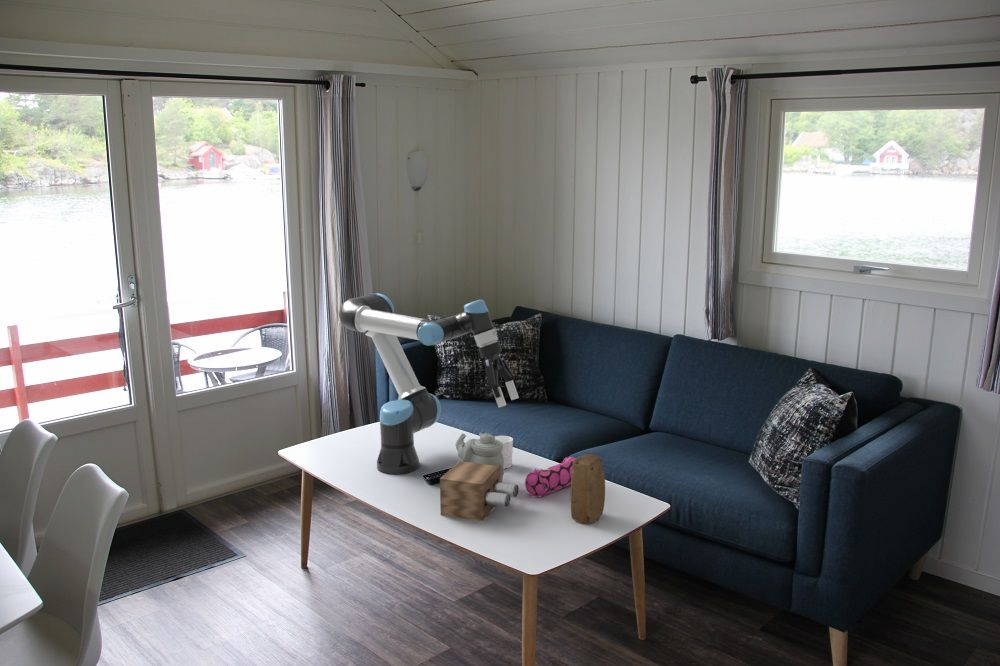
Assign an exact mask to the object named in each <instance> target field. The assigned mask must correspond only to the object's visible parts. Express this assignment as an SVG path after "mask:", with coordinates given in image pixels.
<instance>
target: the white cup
mask: <svg viewBox="0 0 1000 666" xmlns="http://www.w3.org/2000/svg"><path fill="white" fill-rule="evenodd" d="M494 437H495V439H496V440H499V441H501V442H502V445H503V448H502V452H501V453H502V455H503V458H504V465H503V470H504V469H505V468H506V469H509V468H511V466H512V465H513V463H512V461H513V451H514V448H513V445H514V438H513V437H511V436H508V435H496V436H494ZM506 469H505V470H506Z"/></svg>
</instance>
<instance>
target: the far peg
mask: <svg viewBox="0 0 1000 666" xmlns="http://www.w3.org/2000/svg"><path fill="white" fill-rule="evenodd" d="M493 492H495V493H503V494H510V498H511V497H512V498H517V497H518V495H519V485H518V484H513V483H506V482H505V483H504V482H503V483H498V482H495V483H494V484H493Z"/></svg>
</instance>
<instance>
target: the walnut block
mask: <svg viewBox="0 0 1000 666" xmlns="http://www.w3.org/2000/svg"><path fill="white" fill-rule="evenodd" d="M495 482H498V483H500V466H495V465H486V464H478V463H470V462H462V460H461V461H460V460H459V461H458V462H457V463H455V465H453V466H452V467H451V468H449V470H448V471H447V472H446V473H444V474H443V475H442V476H441V477H440V478H439V498H440V499H439V501H440V502H439V503H440V516H446V517H451V518H452V517H453V518H458V519H459V518H460V519H466V520H472V521H480V522H481V521H482V522H483V521H484V520H485V519H486V518H487V517H488V516H489V515H490V513H491V512H492V511H493V510H494V509H495V508H496V506H497V505H490V504H484V493H485V492H486V491H487V492H493V484H494V483H495Z"/></svg>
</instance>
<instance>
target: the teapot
mask: <svg viewBox="0 0 1000 666" xmlns="http://www.w3.org/2000/svg"><path fill="white" fill-rule="evenodd" d="M478 436H479V438H471V439H468V440H467V441H466V442H465V441H464V440H465V439H466V437H467V435H466V434H465V433H461V435H460V436H459V437H458V439H457V440H456V441H455V448H456V450H457V455H458V457H459V459H460V460H461V461H462V462H470V463H478V464H486V465H495V466H500V483H504V482H503V481H504V474H505V470H504V469H503V465H504V458H503V455H502V453H501V452H502V448H503V445H502V442H501V441H499V440H496V439H495V436H494V435H492V434H491V433H489V432H485V433H483V432H479V433H478Z"/></svg>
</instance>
